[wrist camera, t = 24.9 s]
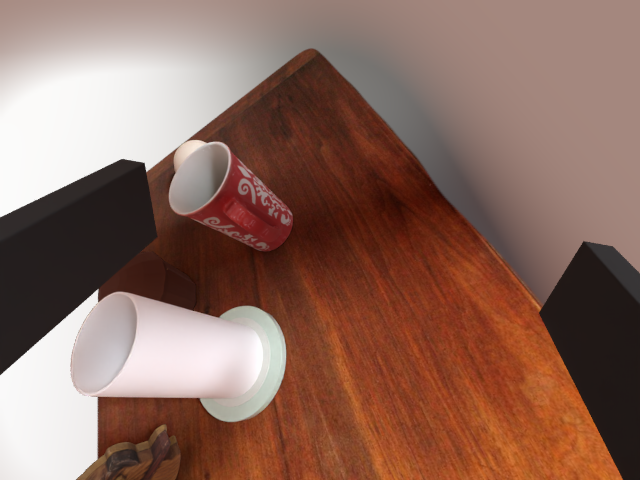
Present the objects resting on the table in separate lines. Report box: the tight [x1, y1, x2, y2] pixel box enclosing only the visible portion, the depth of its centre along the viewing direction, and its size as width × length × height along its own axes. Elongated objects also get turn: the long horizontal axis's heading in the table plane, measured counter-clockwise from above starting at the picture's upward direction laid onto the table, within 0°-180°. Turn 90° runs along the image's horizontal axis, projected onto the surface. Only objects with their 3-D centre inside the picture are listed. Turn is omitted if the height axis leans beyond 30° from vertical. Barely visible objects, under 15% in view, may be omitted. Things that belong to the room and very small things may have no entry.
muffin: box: [98, 251, 196, 310], centre depth 47 cm, size 12×11×10 cm
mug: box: [169, 142, 293, 251], centre depth 41 cm, size 13×9×14 cm
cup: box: [71, 292, 263, 398], centre depth 34 cm, size 8×8×16 cm
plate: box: [200, 306, 286, 422], centre depth 41 cm, size 13×13×1 cm
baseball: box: [174, 140, 207, 172], centre depth 57 cm, size 7×7×7 cm
